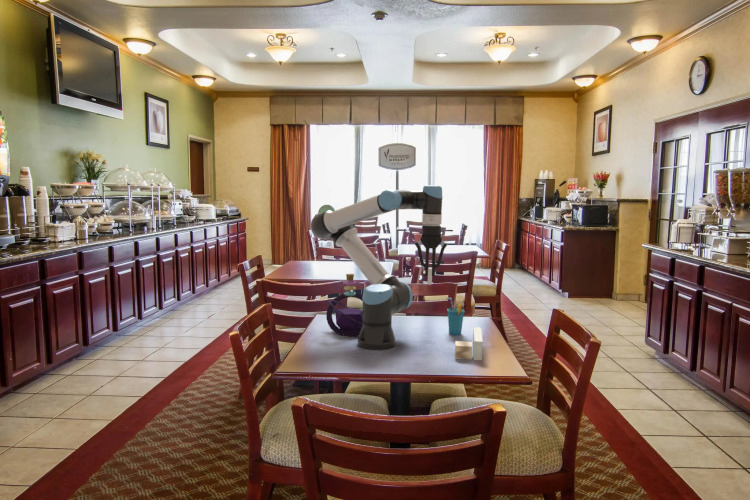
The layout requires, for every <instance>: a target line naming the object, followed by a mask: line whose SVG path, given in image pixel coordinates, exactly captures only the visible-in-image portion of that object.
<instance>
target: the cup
mask: <svg viewBox="0 0 750 500" xmlns="http://www.w3.org/2000/svg"><path fill="white" fill-rule="evenodd" d="M446 300H450V306H451V307H449V308H447V309H446V310H447V318H448V319H447V320H448V333H449V335H452V336H461V335H462V330H463V323H464V322H463V321H464V314H465V313H466V310H464V308H462V305H461V303H457V306H456V307H454V302H453V298H452V297H446Z"/></svg>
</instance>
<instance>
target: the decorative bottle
mask: <svg viewBox="0 0 750 500" xmlns="http://www.w3.org/2000/svg"><path fill="white" fill-rule="evenodd" d="M345 277H346V280H345V281H344V282H343V284H344V285H347V286H344V287H343V289H344V290H345V292H344V293H341V294H339V295H337V296H336V297H335V298H334V299H331V298H330V299H327V302H328V304H329V305H328V307H327V311H326V322H327V324H328V326H329V328H330V330H332V331H333V332H334V333H335V334H338V336H339V335H340V336H343V337H354V336H359V333H360V330H361V327H362V315H363V308H362V309H359V308H360V307H359V308H352V307H349V306H348V305H345V304H343V303H342V302H340V301H342V300H343V299H346V298H356V299H358V300H360V301H361V302H363V300H362V297H363V293H362V294H361V293H359V292H355V291H356V286H355V285H356V283H357V282H356V281H355V280H354V277H355V273H346V274H345ZM337 304H338V305H341V306H343V307H344V308H339V309H338V308H337V307H335V306H336V305H337ZM334 309H335V310H334ZM333 310H334V311H335V321H334V319H333Z"/></svg>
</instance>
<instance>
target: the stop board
mask: <svg viewBox="0 0 750 500" xmlns="http://www.w3.org/2000/svg"><path fill="white" fill-rule="evenodd" d="M482 331H483V330H482V327H477V326H474V327H473V332H472V333H473V334H472V336H473V337H472V355H473V356H472V357H473V358H472V359H473V360H474V361H482V360H483V347H484V346H483V345H484V344H483V341H484V340H483V333H482Z"/></svg>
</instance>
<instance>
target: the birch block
mask: <svg viewBox="0 0 750 500" xmlns="http://www.w3.org/2000/svg"><path fill="white" fill-rule="evenodd" d="M454 342H455V346H454V347H455V348H454V358H455V359H456V360H457V359H459V360H472V359H473V358H472V357H473V356H472V355H473V341H465V340H464V341H462V340H455V341H454Z"/></svg>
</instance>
